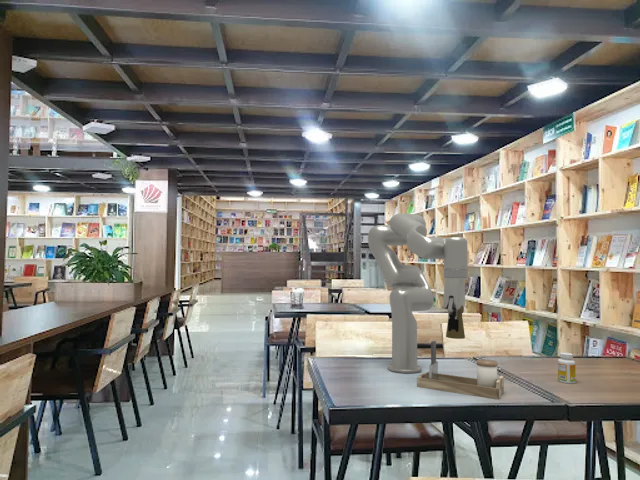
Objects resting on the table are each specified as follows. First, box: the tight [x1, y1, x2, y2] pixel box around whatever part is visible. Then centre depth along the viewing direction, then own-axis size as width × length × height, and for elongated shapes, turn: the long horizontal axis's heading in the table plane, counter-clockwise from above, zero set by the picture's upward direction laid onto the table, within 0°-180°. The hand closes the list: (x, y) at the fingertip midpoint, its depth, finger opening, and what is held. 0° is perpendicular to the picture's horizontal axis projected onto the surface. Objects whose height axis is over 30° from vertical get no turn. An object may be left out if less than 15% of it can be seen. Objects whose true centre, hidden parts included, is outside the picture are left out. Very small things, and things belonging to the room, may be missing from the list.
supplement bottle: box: [557, 352, 577, 384], centre depth 155 cm, size 5×5×10 cm
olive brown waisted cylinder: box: [445, 305, 466, 340], centre depth 145 cm, size 6×6×11 cm
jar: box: [476, 358, 498, 388], centre depth 140 cm, size 6×6×10 cm
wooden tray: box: [416, 371, 505, 400], centre depth 144 cm, size 9×25×5 cm, turn 59°
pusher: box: [428, 340, 439, 380], centre depth 148 cm, size 7×1×14 cm, turn 149°
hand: (455, 330), depth 145 cm, fingers closed on olive brown waisted cylinder, 4 cm apart
